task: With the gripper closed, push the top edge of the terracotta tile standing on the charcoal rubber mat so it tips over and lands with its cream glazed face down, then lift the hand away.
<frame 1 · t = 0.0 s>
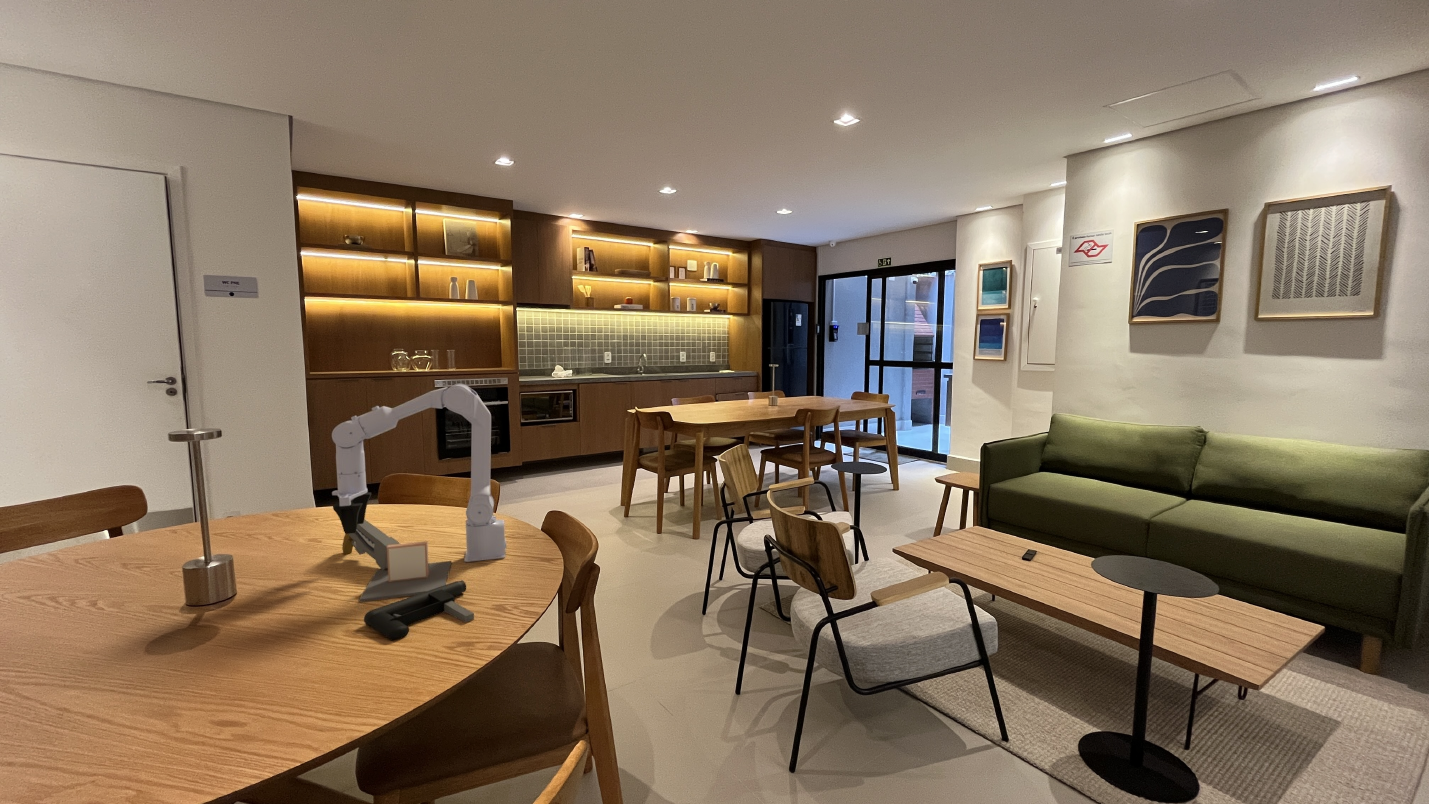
hand: (354, 528, 139), 10 cm above the table, tool pointing down, fingers open, 7 cm apart
tile: (409, 578, 133), point 1 cm above the table, touching mat
door handle: (431, 618, 115), on the table
mat: (409, 581, 133), on the table
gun: (369, 561, 144), on the table, touching mat
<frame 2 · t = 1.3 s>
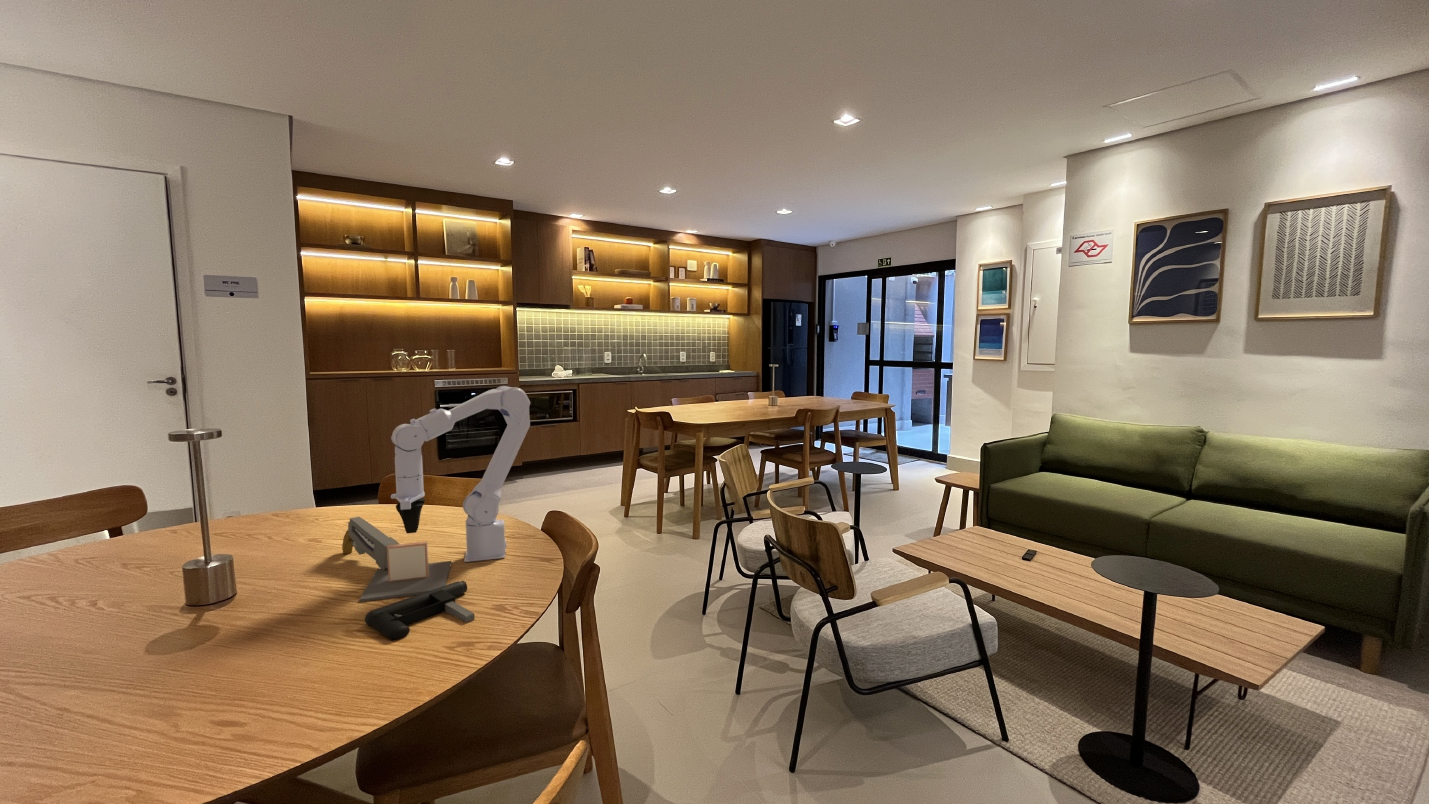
hand: (412, 531, 139), 9 cm above the table, tool pointing down, fingers closed
nothing on the table moved.
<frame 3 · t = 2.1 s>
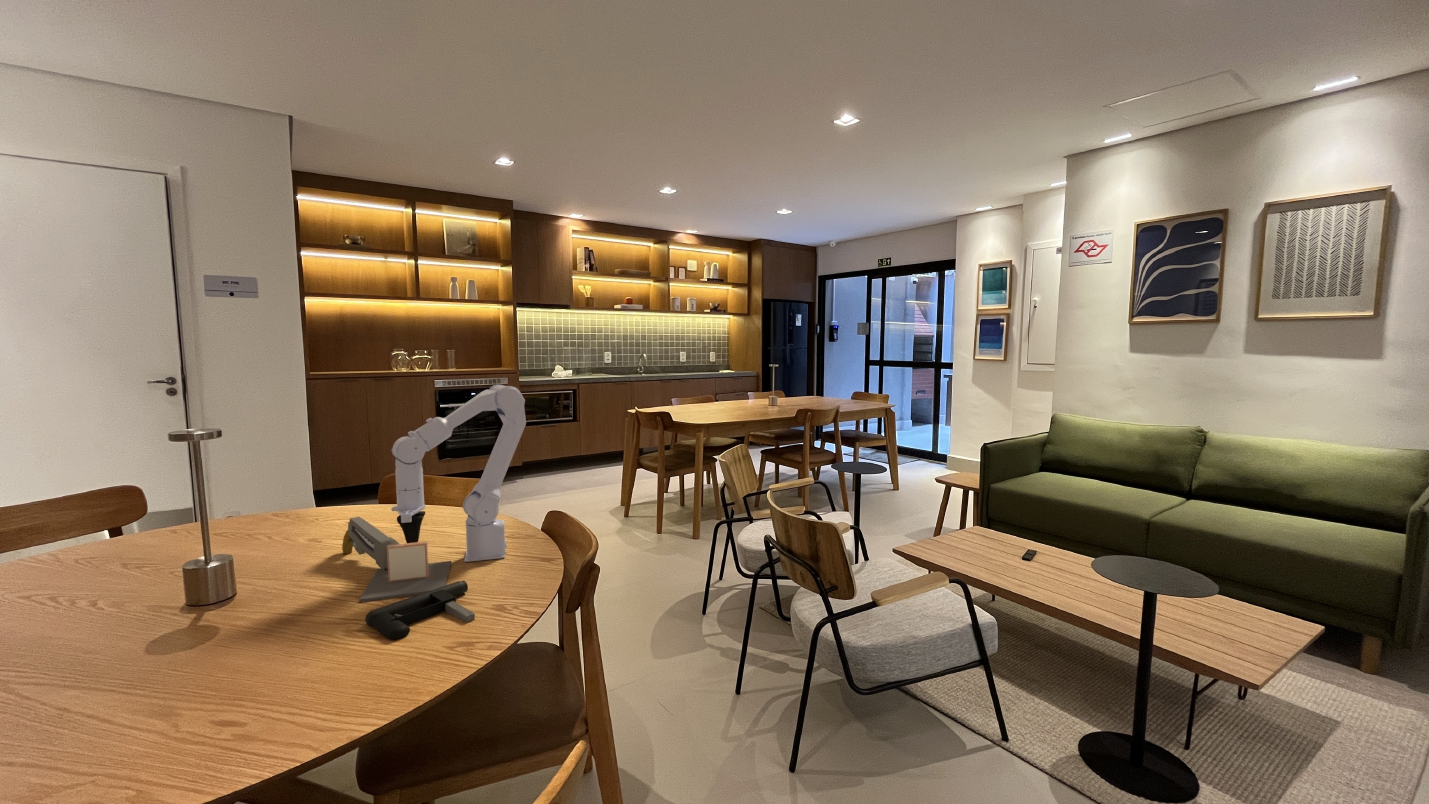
hand: (412, 544, 139), 6 cm above the table, tool pointing down, fingers closed
nothing on the table moved.
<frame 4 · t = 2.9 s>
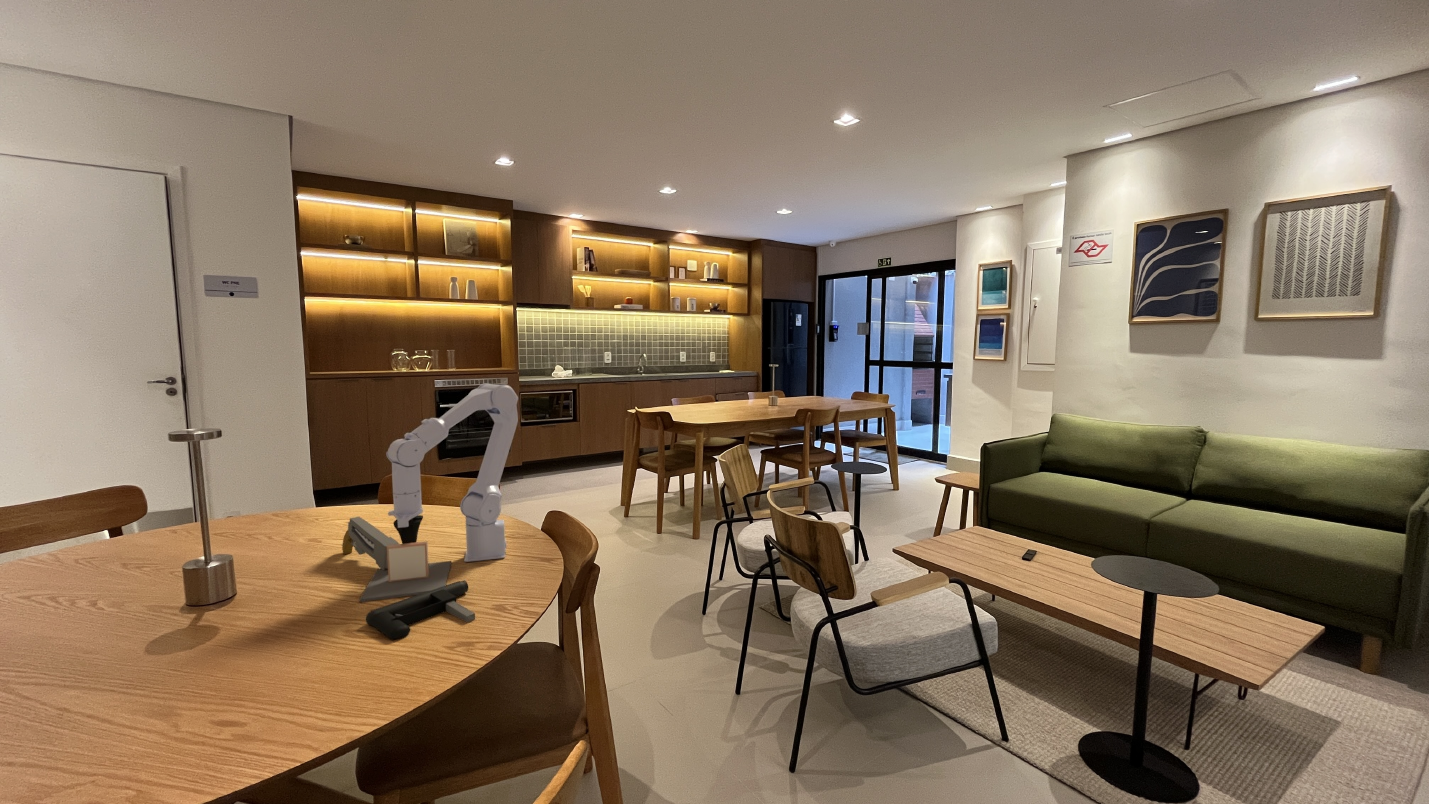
hand: (409, 549, 135), 6 cm above the table, tool pointing down, fingers closed
nothing on the table moved.
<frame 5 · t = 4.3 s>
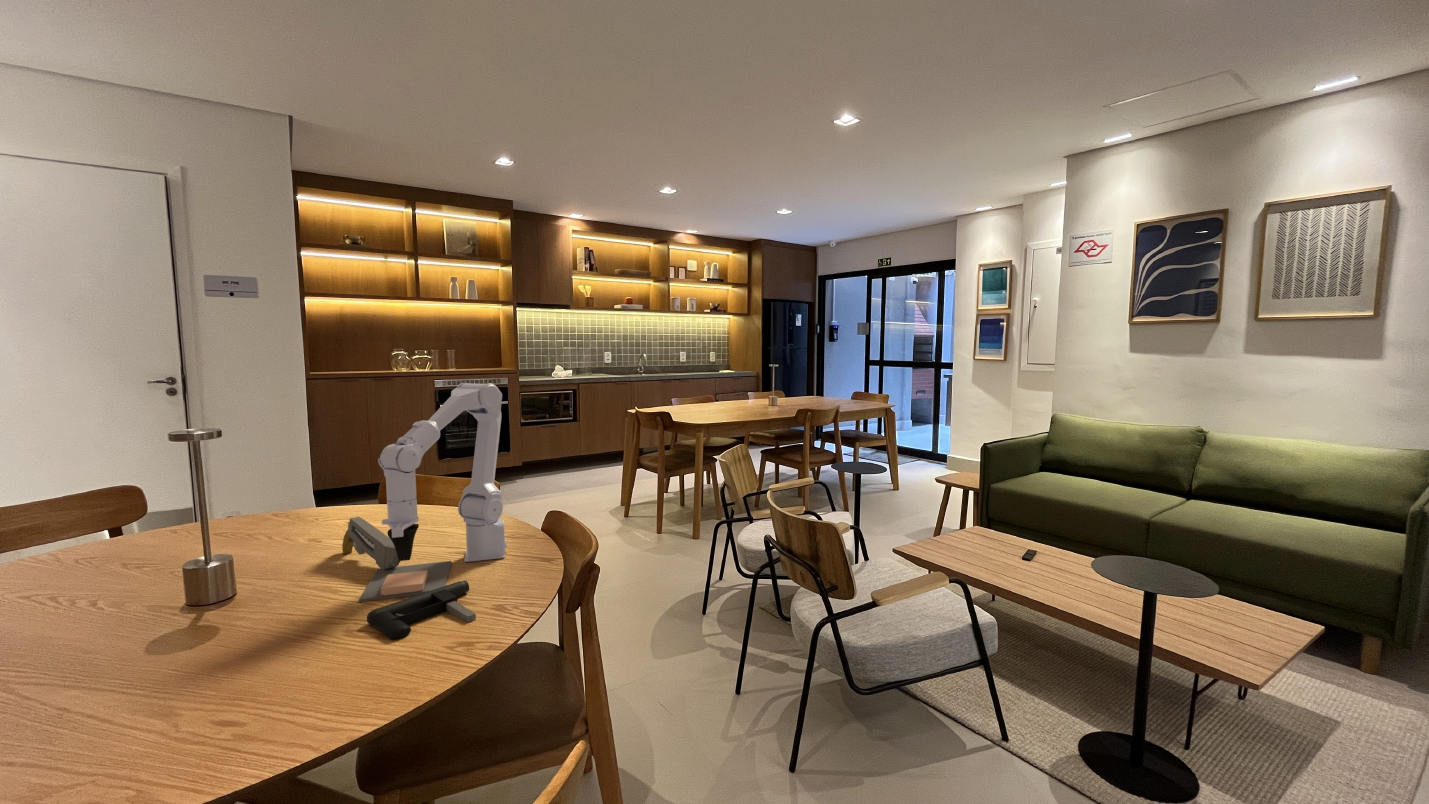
hand: (404, 559, 128), 6 cm above the table, tool pointing down, fingers closed
tile: (408, 575, 132), point 2 cm above the table, tilted 90°, touching mat
everything else where it was.
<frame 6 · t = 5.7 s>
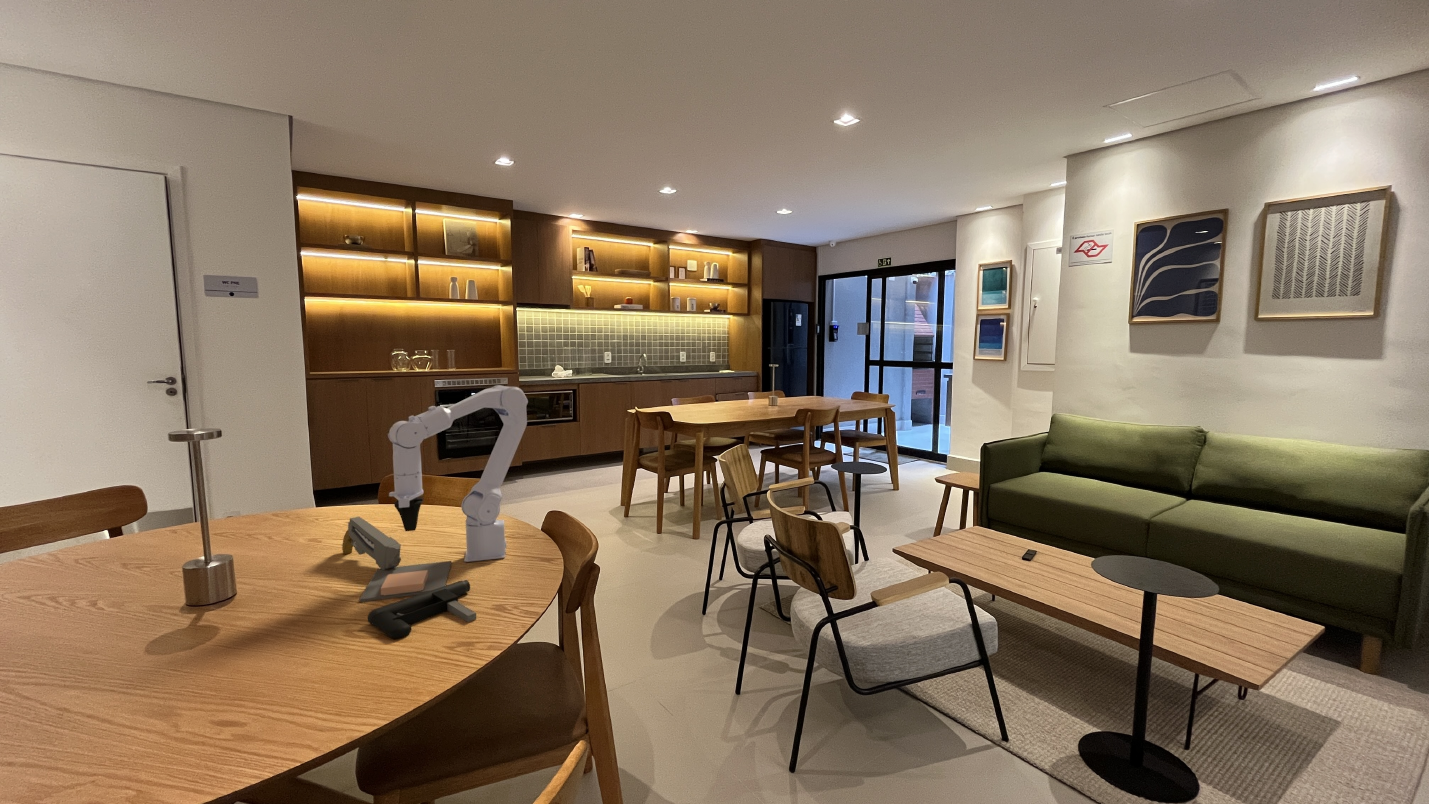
hand: (410, 530, 137), 10 cm above the table, tool pointing down, fingers closed
nothing on the table moved.
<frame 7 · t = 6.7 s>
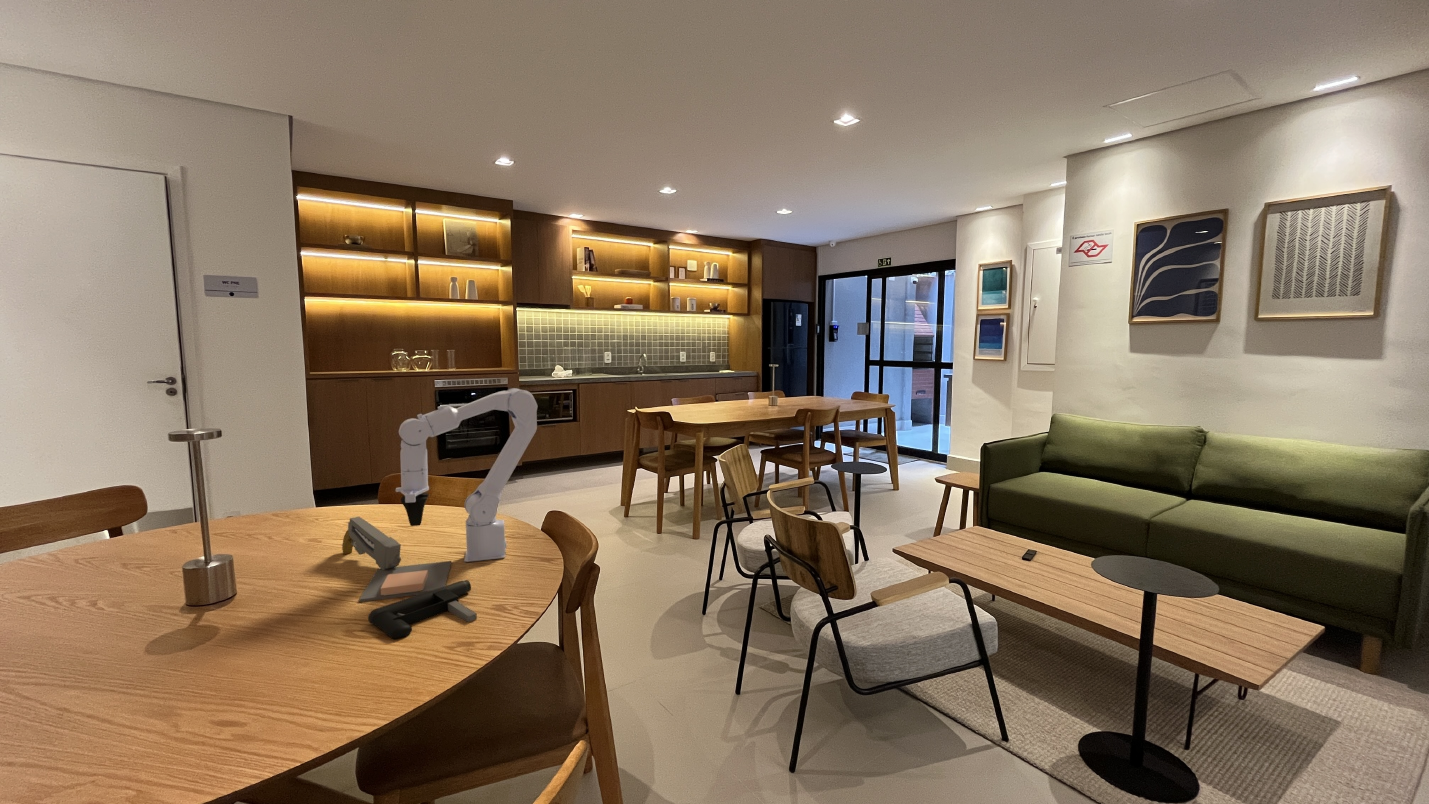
hand: (415, 525, 140), 10 cm above the table, tool pointing down, fingers closed
nothing on the table moved.
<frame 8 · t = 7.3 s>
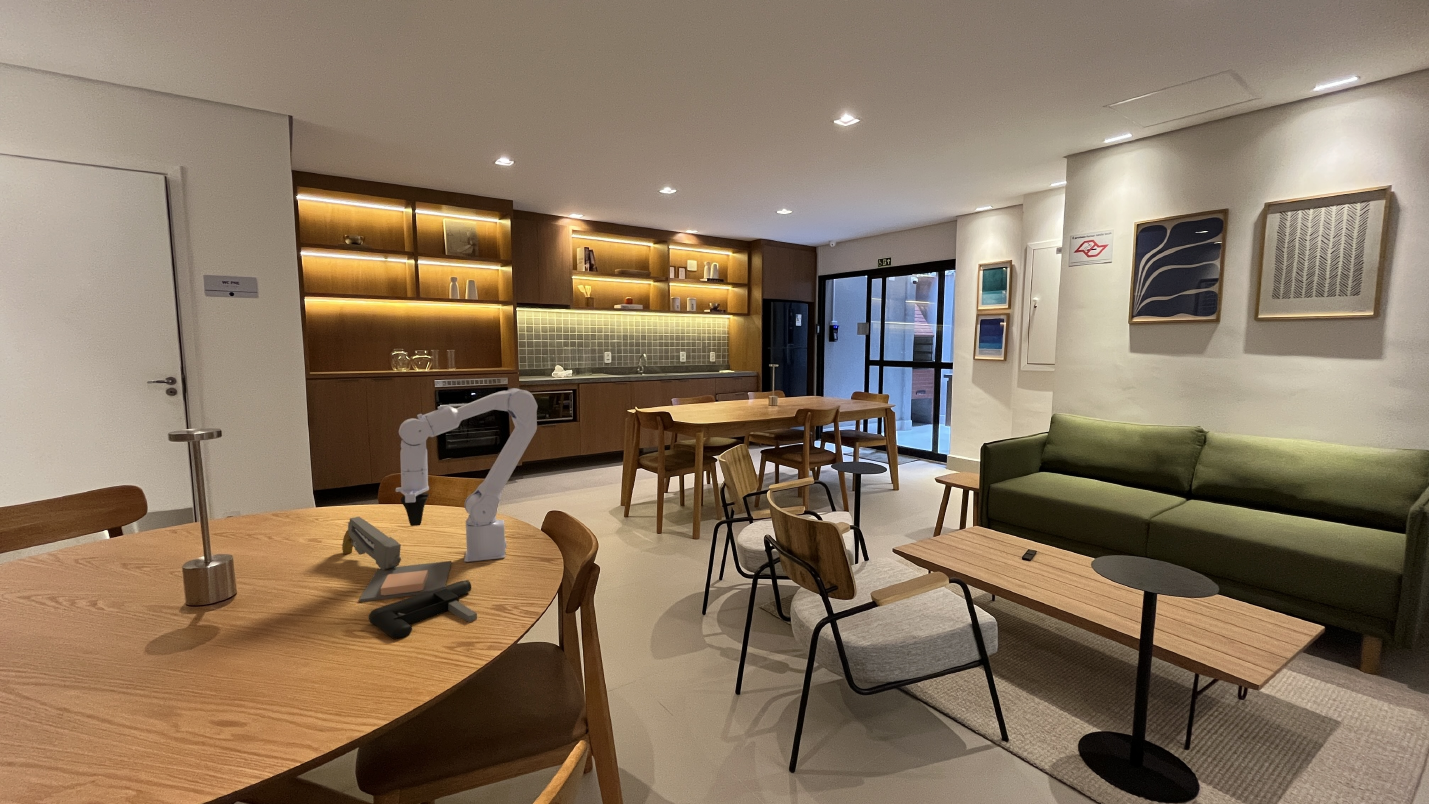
hand: (415, 525, 140), 10 cm above the table, tool pointing down, fingers closed
nothing on the table moved.
at the end: tile tilted 90°; tile inside the target area (3.6 cm from its centre), point 1.6 cm above the table; tile touching mat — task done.
